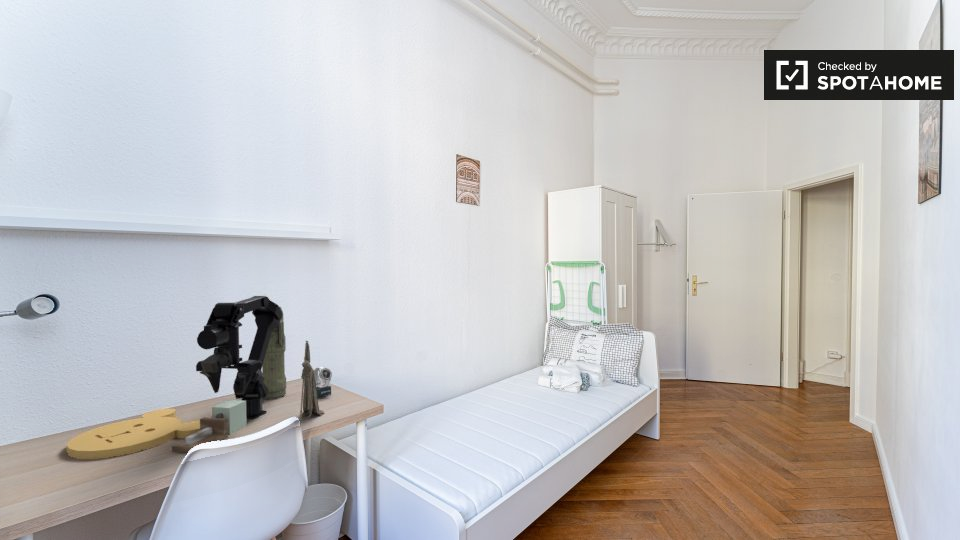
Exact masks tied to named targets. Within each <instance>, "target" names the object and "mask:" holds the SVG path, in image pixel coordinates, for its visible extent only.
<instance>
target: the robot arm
mask: <svg viewBox="0 0 960 540" xmlns="http://www.w3.org/2000/svg"><path fill="white" fill-rule="evenodd" d="M280 307H281V306H280V305H279V304H277V303H275V302H274V301H272V300H271V299H270V298H269V296H266V295H253V296H251V297H248V298H246V299H242V300H239V301H235V302H217V303H216V304H215V305H214V307H213V308H212V310H211V313H210V315H209V317H208V319H207V322H206V325H204V326H203V330H202V331H200V332H199V333H198V336H197V337H196V341H197V342H196V343H197V344H198V346H199V347H200V348H201V349H203V350H211V349H213V354H211V355H209V356H208V357H206V358H205V359H203V360H199V361H198V362H197V363H196V365H195V371H196V372H199V374H200V375H203V376H204V377H206V378H207V379H208V382H209V383H210V386H211V388H212V390H213V391H214V394H217V393H219V391H220V387H221V386H220V385H221V377H222V370H223V369H227V370H229V369H232V370H233V369H235V370H237V373H236V376H235V379H234V381H233V386H232V389H233V393H234V397H235V399H236V400H238V399H239V400H241V401H246V419H256V418H258V417H260V416H262V415H263V414H265V413H267V410H263V398H264V397H267V395H268V387H267V386H266V385H265V384H264V376H263V374H262V365H263V362H264V358H265V355H266V351H267V348H268V344H269V340H270V337H271V333H272V331H273V330H274V329H275V328H276V327H277V326H278V325H279V323H280V320H281V319H282V316H283V317H284V312H283V313H282V311H283V309H282V310H281V309H280ZM250 312H251V314H252V315H253V317H254V318H255V319H254V322H255V325H256V327H257V328H256V333H255V336H254V338H253V342H252V345H251V349H250V352H249V355H248V359H247V360H244V361H243V357H240V349H243V344H240V331H239V330H240V327H242V326H243V324H242V322H240V320H241V319H242V318H244V317H245V314H247V313H250Z"/></svg>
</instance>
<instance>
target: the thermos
mask: <svg viewBox="0 0 960 540" xmlns="http://www.w3.org/2000/svg"><path fill="white" fill-rule="evenodd" d="M279 307H280V309H281V310H282V313H283V314H284V311H283V309H282V307H281V306H279ZM286 342H287V341H286V335H285V322H284V315H283V316H282V319H281V320H280V323H279V325H278V326H277V327H276V328H275V329H274V330H273V331H272V333H271V337H270V340H269V344H268V348H267V351H266V355H265V358H264V362H263V365H262V369H261V371H262V374H263V376H264V384H265V385H266V386H267V387H268V395H267V397H264V398H262V400H274V399H273V398H276V399H279V398H278V397H281V398H283V397H285V396H286V395H287V390H286V389H287V377H286V373H285V372H286V371H285V369H286V367H285V352H286V348H287V347H286ZM285 394H286V395H285ZM284 395H285V396H284ZM282 396H283V397H282Z"/></svg>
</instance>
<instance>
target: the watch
mask: <svg viewBox="0 0 960 540" xmlns="http://www.w3.org/2000/svg"><path fill="white" fill-rule="evenodd" d="M313 370H314V375H315V381H316V390H317V397H318V399H320V397H321V398H323V396H324V397H326V396H325V395H327V396H329V395H328V394H330V395H332V386H331V385H330V382H331V380H332V376H333V372H332V371H331V369H329V368H327V367H326V366H319V367H315V368H314V369H313ZM321 380H322V382H323V384H322V382H321Z"/></svg>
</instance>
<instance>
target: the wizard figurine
mask: <svg viewBox="0 0 960 540" xmlns="http://www.w3.org/2000/svg"><path fill="white" fill-rule="evenodd" d="M304 345H305V346H304V357H303V362H302V363H301V366H302V371H301V376H300V377H301V378H300V379H302V386H301V402H300V412H299V413H300V414H299V415H300V418H302V413H303V412H306V413H305V414H306V415H308V416H307V417H306V419H310V418H311V417H312V416H313V413H315V414H317V415H318V416H321V417H322V416H323V415H324V414H325V411H324V410H321V409H320V405H319V400H318V399H319V398H317V390H316V387H317V386H316V381H315V375H314V370H315V369H314V368H313V367H312V364H311V352H310V350H311V349H310V344H309V341H308V340H305V344H304Z"/></svg>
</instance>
